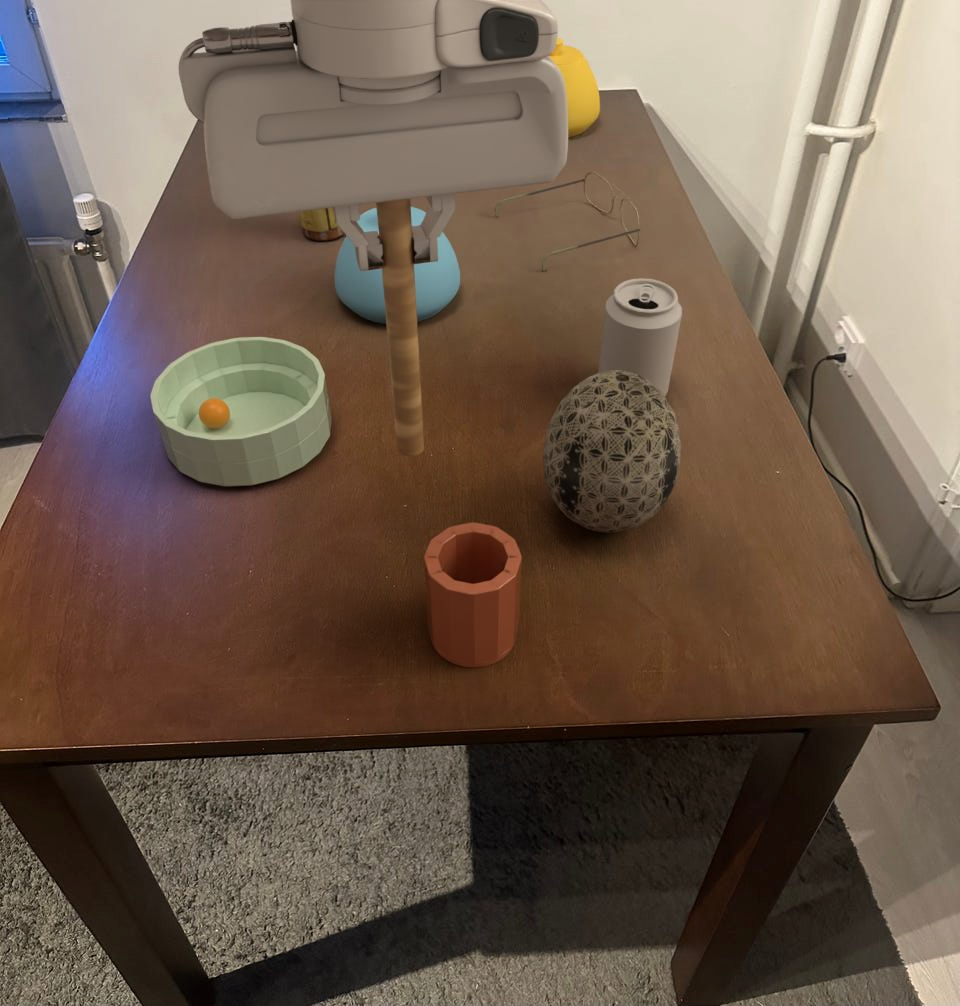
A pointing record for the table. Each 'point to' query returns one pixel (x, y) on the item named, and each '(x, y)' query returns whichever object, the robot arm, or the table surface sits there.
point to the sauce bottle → (320, 224)
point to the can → (641, 330)
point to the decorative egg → (612, 452)
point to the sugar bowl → (366, 287)
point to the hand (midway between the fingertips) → (397, 262)
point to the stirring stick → (401, 323)
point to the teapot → (577, 88)
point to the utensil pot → (473, 593)
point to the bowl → (243, 410)
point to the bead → (214, 413)
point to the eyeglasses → (591, 204)
